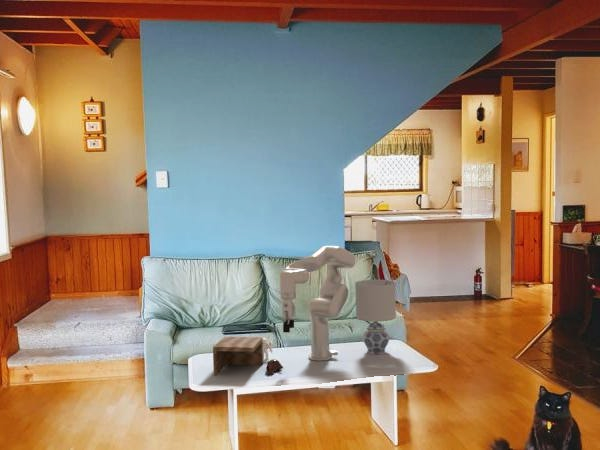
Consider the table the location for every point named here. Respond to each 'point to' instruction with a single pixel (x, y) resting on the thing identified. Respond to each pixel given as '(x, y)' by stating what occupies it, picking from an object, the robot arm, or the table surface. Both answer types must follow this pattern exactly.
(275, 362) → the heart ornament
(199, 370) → the table surface
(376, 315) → the lamp
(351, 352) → the table surface
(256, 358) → the open wooden box
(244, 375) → the table surface
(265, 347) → the cream tall piece
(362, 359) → the table surface
